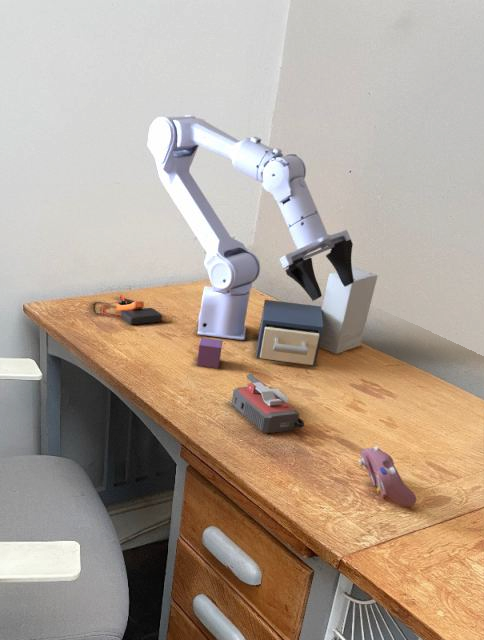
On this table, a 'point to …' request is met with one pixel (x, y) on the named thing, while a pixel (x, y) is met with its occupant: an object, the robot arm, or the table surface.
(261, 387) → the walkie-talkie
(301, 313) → the cabinet
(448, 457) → the table surface
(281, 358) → the drawer
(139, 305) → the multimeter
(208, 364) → the block
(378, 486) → the video game controller
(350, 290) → the cosmetic box
